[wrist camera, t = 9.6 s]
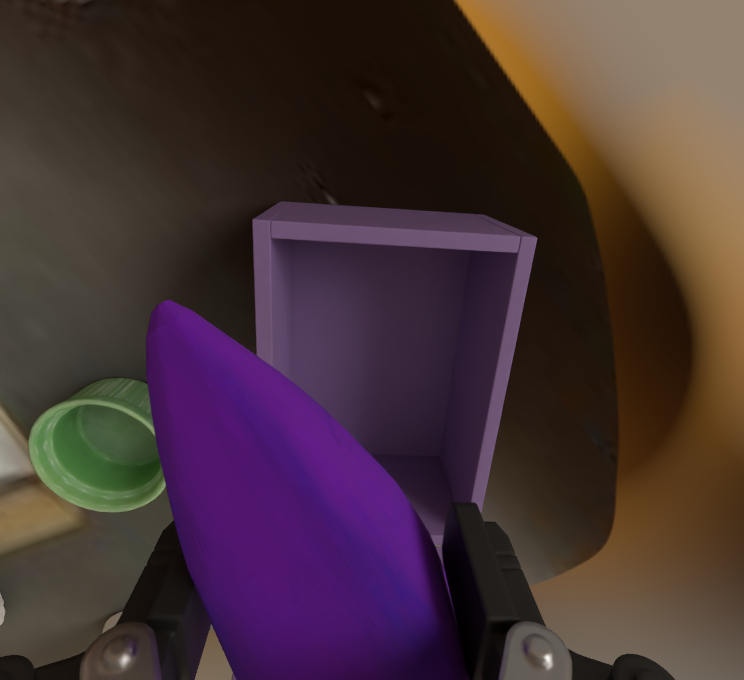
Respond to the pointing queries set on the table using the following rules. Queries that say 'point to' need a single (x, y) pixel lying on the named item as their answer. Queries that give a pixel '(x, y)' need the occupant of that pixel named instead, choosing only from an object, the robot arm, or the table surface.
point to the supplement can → (1, 610)
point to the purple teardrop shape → (290, 521)
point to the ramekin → (100, 447)
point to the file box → (397, 333)
